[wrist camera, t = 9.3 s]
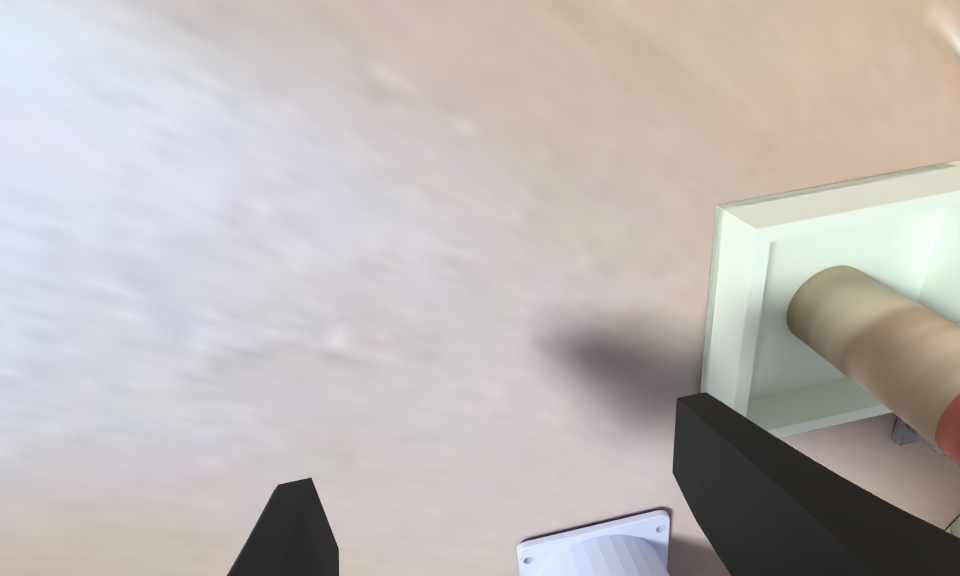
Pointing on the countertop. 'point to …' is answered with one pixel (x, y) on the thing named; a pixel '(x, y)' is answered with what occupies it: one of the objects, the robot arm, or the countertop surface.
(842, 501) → the robot arm
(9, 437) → the countertop surface
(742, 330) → the tray
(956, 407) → the pin
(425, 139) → the countertop surface
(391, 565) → the countertop surface
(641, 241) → the countertop surface
